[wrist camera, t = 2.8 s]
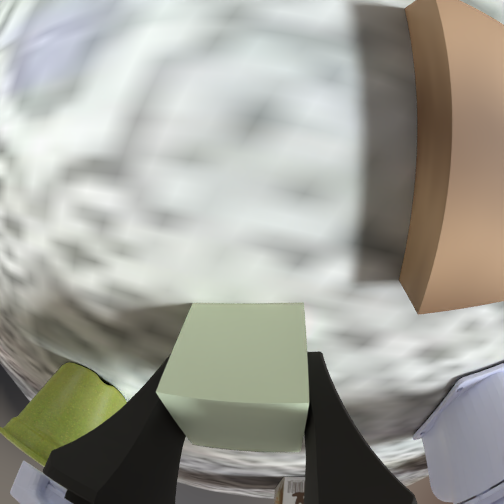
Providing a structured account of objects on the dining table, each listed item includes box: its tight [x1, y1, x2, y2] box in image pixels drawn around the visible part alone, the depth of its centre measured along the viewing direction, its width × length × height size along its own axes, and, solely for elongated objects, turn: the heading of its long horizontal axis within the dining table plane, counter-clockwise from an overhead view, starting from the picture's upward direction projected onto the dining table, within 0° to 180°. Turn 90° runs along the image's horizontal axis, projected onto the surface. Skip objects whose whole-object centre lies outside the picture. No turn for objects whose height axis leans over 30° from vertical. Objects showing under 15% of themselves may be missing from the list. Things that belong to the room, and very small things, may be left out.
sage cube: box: [156, 303, 309, 452], centre depth 9 cm, size 4×4×4 cm
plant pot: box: [0, 363, 127, 467], centre depth 13 cm, size 9×9×9 cm
